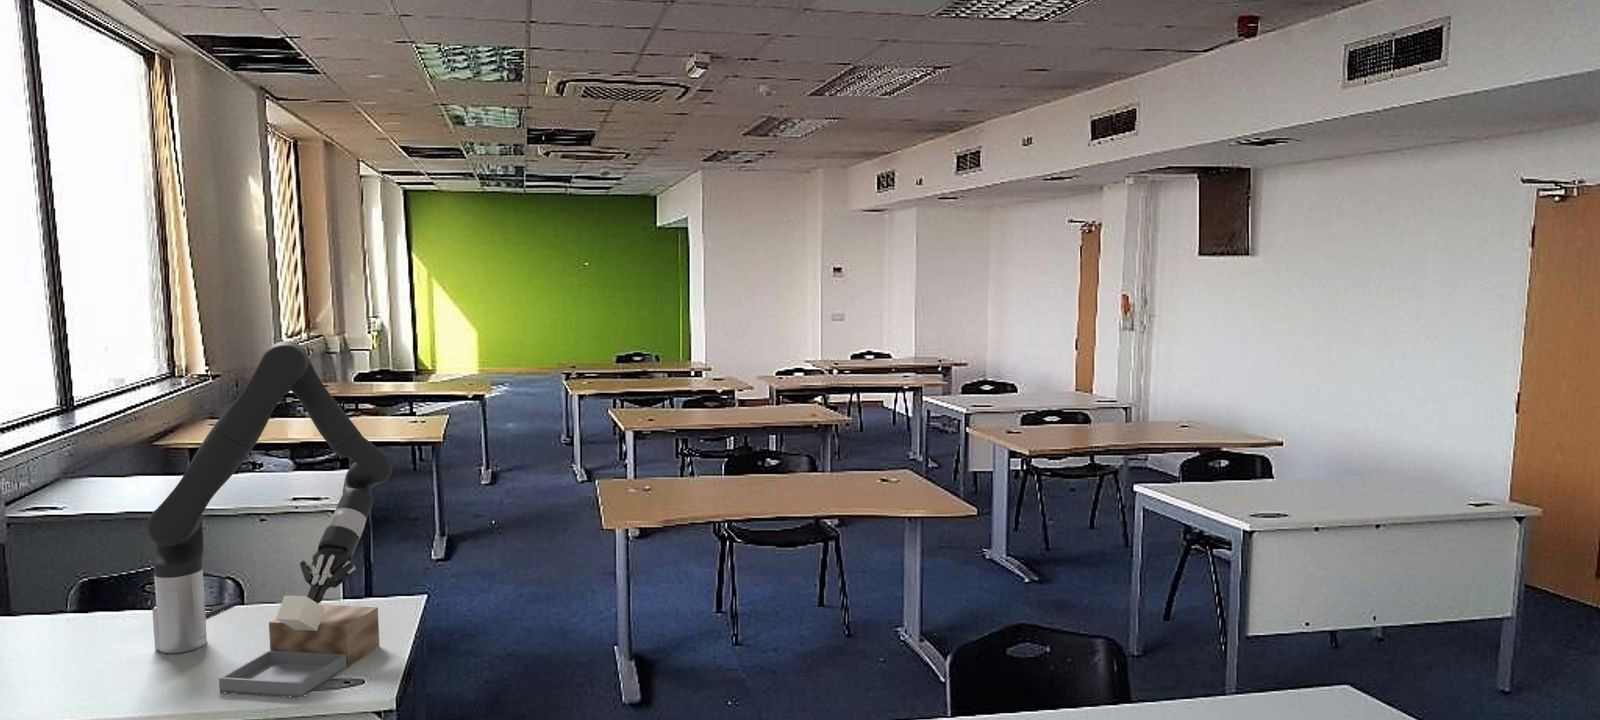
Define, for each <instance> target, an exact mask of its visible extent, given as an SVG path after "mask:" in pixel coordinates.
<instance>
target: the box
mask: <svg viewBox="0 0 1600 720" xmlns="http://www.w3.org/2000/svg"><path fill="white" fill-rule="evenodd" d="M346 669H348V667H347V663H346V654H328V653H310V652H292V651H274V650H270V649H268V650H267V651H265V652H263V653H262V654H259V655H258V656H255V658H253V659H251V660H249V661H247V662H245V663H244V664H242V665H240V666H238V667H236V668H234V669H233V670H231V671H230V672H228V673H226V674H224V675H222V676H220V677H219V678H218V686H219V688H218V689H219V693H220V692H226V693H225V694H230V693H237V694H236V695H246V694H249V696H262V695H264V697H268V696H269V697H278V696H286V697H285V698H293V697H303V696H304V695H306V694H307V695H309V694H311V693H312V692H313V691H315V690H316V689H318V688H319V687H321V686H323V685H324V684H326V683H327V682H328V681H330V680H332V679H333V678H334V677H336V676H337V675H339V674H341V673H342V672H343V671H345V670H346ZM308 693H309V694H308ZM307 695H306V696H307ZM289 696H291V697H289ZM304 697H305V696H304ZM304 697H303V698H304Z"/></svg>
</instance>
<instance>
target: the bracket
mask: <svg viewBox="0 0 1600 720" xmlns="http://www.w3.org/2000/svg"><path fill="white" fill-rule="evenodd" d="M240 604H243V603H242V600H241V598H237V599H235V600H232V601H231V602H228V603H225V604H220V605H214V606H205V611H210V612H207V613H205V617H206V618H207V619H209V618H208V617H210V616H212V615H214V616H216V615H218V614H220V613H219V612H221V611H223V610H225V609H227V608H230V607H232V608H234V607H236V606H238V605H240ZM230 609H231V608H230ZM227 610H228V609H227ZM225 611H226V610H225ZM223 612H224V611H223ZM217 613H218V614H217ZM221 613H222V612H221ZM215 614H216V615H215ZM212 617H213V616H212ZM210 618H211V617H210Z"/></svg>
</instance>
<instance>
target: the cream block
mask: <svg viewBox="0 0 1600 720" xmlns="http://www.w3.org/2000/svg"><path fill="white" fill-rule="evenodd" d="M321 605H322V604H320V603H319V604H318V603H316V602H315V601H313V600H311V599H310V598H308V597H307V595H283V599H282V601H281V603H280V607H279V609H278V612H277V615H276V617H275V619H277V620H279V621H280V622H282V623H284V624H286V625H288V626H289V627H291V628H293V629H295V630H309V631H317V630H318V627H319V624H320V621H321V618H322V615H323V612H324V609H325V608H324V607H323V606H321Z"/></svg>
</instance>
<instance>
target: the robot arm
mask: <svg viewBox="0 0 1600 720" xmlns="http://www.w3.org/2000/svg"><path fill="white" fill-rule="evenodd" d="M289 390H290V391H291V392H292V393H293V395H295V397H296V398H297V399H298V401H299V402H300V403H301V404H302V406H303V408H304V409H305V411H306V412H307V414H308V416H309V417H310V420H311V421H312V423H313V424H314V426H315V428H316V429H317V431H318V433H319V434H320V435H321V436H322V438H323V440H324V441H325V442H326V443H327V445H328V446H329V447H330V448H331V450H332V451H333V452H334V453H335V454H336V455H337V456H338V457H340V458H349V459H351V460H352V461H353V463H352V464H351V466H350V467H349V468H348V470H347V472H346V475H345V477H344V482H343V488H342V495H341V497H340V499H339V502H338V504H337V506H336V508H335V510H334V512H333V514H332V515H331V517H330V518H329V521H328V523H327V525H326V526H325V527H326V528H325V530H324V532H323V534H322V536H321V539H320V541H319V542H318V548H317V551H316V552H315V553H314V554H313V555H312V557H311V559H309V560H308V561H305V560H302V561H300V563H299V566H300V569H301V572H302V575H303V578H304V581H305V582H306V583H307V584H308V585H309V586H310V589H309V591H308V593H307V595H306V596H307V597H308V598H310V599H311V600H313V601H315V602H316V603H318V604H319V605H320V603H321V602H322V601H323V599H324V596H325V594H326V591H328V590H329V589H330V588H333V589H335V588H337V587H338V586H340V585H341V584H342V583H344V582H345V581H346V580H347V579H349V578H350V577H351V576H352V575H353V574H355V573H356V572H357V569H358V568H356V566H355V565H354V564H353V563H352V562H351V561H352V556H353V555H354V553H355V551H356V548H357V546H358V544H359V542H360V539H361V537H362V534H363V531H364V529H365V527H366V526H365V525H366V522H367V519H369V518H368V517H369V515H370V513H371V510H372V508H373V504H374V497H373V495H372V493H370V492H371V490H372V488H373V487H376V486H378V485H380V484H384V483H386V482H387V481H388V480H389V479H390V478H391V476H392V472H393V467H392V464H391V461H390V459H389V458H388V456H387V455H386V454H385V453H384V452H383V451H382V450H381V449H380V448H378V447H377V446H376V445H374V443H372V442H371V441H370V440H368V439H367V438H366V437H364V436H363V435H362V433H361V432H360V431H359V429H358V427H357V426H356V425H355V424H354V423H353V421H352V420H351V419H350V418H349V416H348V415H347V413H346V412H345V411H344V409H342V407H341V406H340V405H339V404H338V402H337V401H336V400H335V398H334V397H333V395H331V394H330V392H329V390H328V389H327V388H326V386H325V385H324V383H323V382H322V381H321V379H320V376H319V375H318V374H317V372H316V370H315V368H314V366H313V364H312V362H311V360H310V358H309V356H308V353H307V352H306V350H305V348H304V347H303V346H301V345H300V344H299V343H297V342H295V341H294V342H293V341H290V340H289V341H288V340H284V341H283V340H282V341H279V342H276V343H274V344H273V345H271V346H269V348H267V349H266V351H264V353H263V355H262V356H261V359H260V361H259V363H258V365H257V367H256V369H255V371H254V372H253V375H252V377H251V378H250V380H249V381H248V383H247V385H246V387H245V388H244V389H243V390H242V392H241V393H240V395H239V396H238V397H237V398H236V399H235V400H234V401H233V402H232V403H231V405H230V406H229V407H227V409H226V410H225V411H224V413H223V414H222V415H221V416H220V417H219V419H217V421H216V422H215V424H214V426H212V428H211V430H210V431H209V432H208V434H207V435H206V437H204V440H203V441H202V443H201V445H200V447H199V448H198V450H197V451H196V452H195V455H193V457H192V459H191V461H190V463H189V465H188V466H187V468H186V470H185V472H184V474H183V475H182V478H181V479H180V481H179V482H178V483H177V485H176V486H175V487H174V489H173V490H171V492H170V493H169V494H168V495H167V497H166V498H165V499H164V500H163V501H162V502H161V504H160V505H159V506H158V507H157V508H156V509H154V511H152V513H151V514H150V516H149V518H148V521H147V534H148V536H149V538H150V539H151V541H152V542H153V543H154V544H155V546H156V549H155V550H156V551H155V558H154V561H153V578H154V590H155V606H154V607H153V608H152V623H153V625H152V626H153V639H154V650H155V651H159V652H160V653H162V654H179V653H185V652H186V653H187V652H190V651H194V650H197V649H200V648H201V647H204V646H205V645H206V644H207V643H208V640H207V639H208V638H207V621H206V620H207V619H206V617H205V607H206V603H205V588H204V587H205V586H204V575H203V574H204V573H203V571H204V570H203V558H204V549H205V547H204V529H203V528H204V526H203V525H204V524H203V517H202V515H203V513H204V512H205V510H206V508H207V506H208V505H209V503H210V501H211V500H212V498H214V496H215V495H216V493H217V492H218V491H219V490H220V489H221V488H222V487H223V486H224V484H226V483H227V481H228V480H229V479H230V478H231V477H232V476H233V475H234V473H236V472H237V470H238V469H239V467H240V466H241V465H242V464H243V462H244V461H245V460H246V459H247V457H248V456H249V454H250V452H251V451H252V450H253V448H254V446H256V443H258V441H259V439H260V437H261V435H262V434H263V432H264V430H265V428H266V426H267V424H268V423H269V422H268V421H269V420H270V418H271V415H272V414H273V412H274V410H275V408H276V407H277V405H278V404H279V403H280V401H282V399H283V398H284V397H285V395H286V394H287V393H288V392H289Z"/></svg>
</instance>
